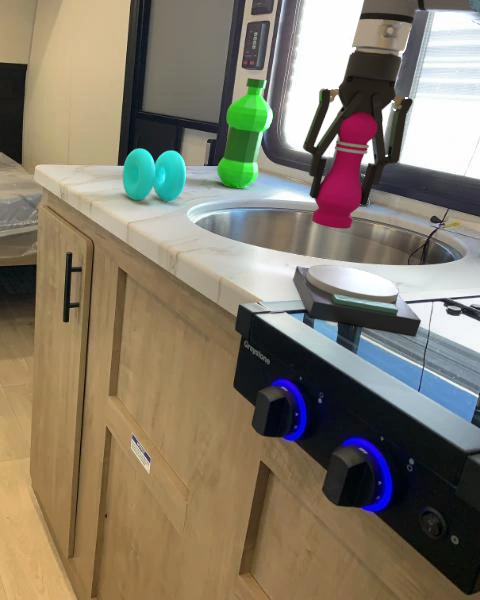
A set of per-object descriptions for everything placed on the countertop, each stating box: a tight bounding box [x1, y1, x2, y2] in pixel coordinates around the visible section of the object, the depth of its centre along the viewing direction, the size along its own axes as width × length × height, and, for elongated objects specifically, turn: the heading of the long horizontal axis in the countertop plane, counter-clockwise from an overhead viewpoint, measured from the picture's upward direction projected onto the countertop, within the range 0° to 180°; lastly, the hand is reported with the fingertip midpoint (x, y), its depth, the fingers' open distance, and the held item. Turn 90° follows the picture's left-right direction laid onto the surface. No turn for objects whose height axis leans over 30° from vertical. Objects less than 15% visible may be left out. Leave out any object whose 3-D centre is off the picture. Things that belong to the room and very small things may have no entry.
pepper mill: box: [311, 112, 377, 229], centre depth 98 cm, size 7×7×20 cm
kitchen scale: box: [292, 264, 422, 337], centre depth 76 cm, size 12×14×3 cm
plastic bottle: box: [216, 77, 273, 189], centre depth 144 cm, size 10×10×25 cm
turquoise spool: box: [122, 147, 187, 202], centre depth 119 cm, size 10×10×10 cm
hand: (337, 200), depth 100 cm, fingers closed on pepper mill, 7 cm apart
